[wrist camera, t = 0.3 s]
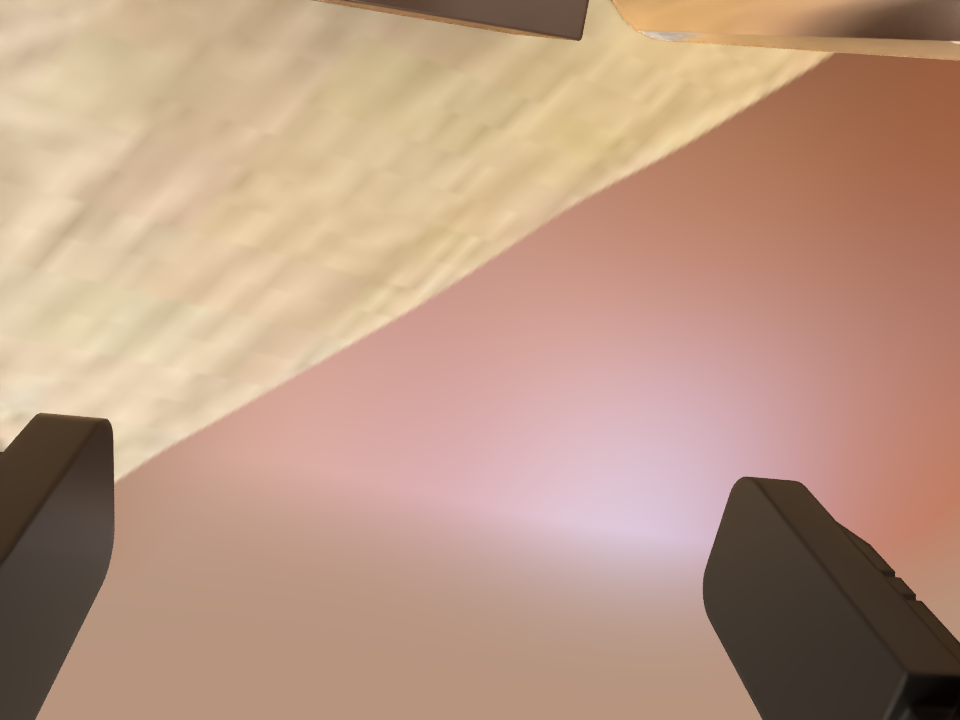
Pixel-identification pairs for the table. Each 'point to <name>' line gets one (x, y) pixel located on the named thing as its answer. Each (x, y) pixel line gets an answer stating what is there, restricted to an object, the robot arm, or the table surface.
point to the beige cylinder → (805, 24)
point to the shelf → (491, 14)
